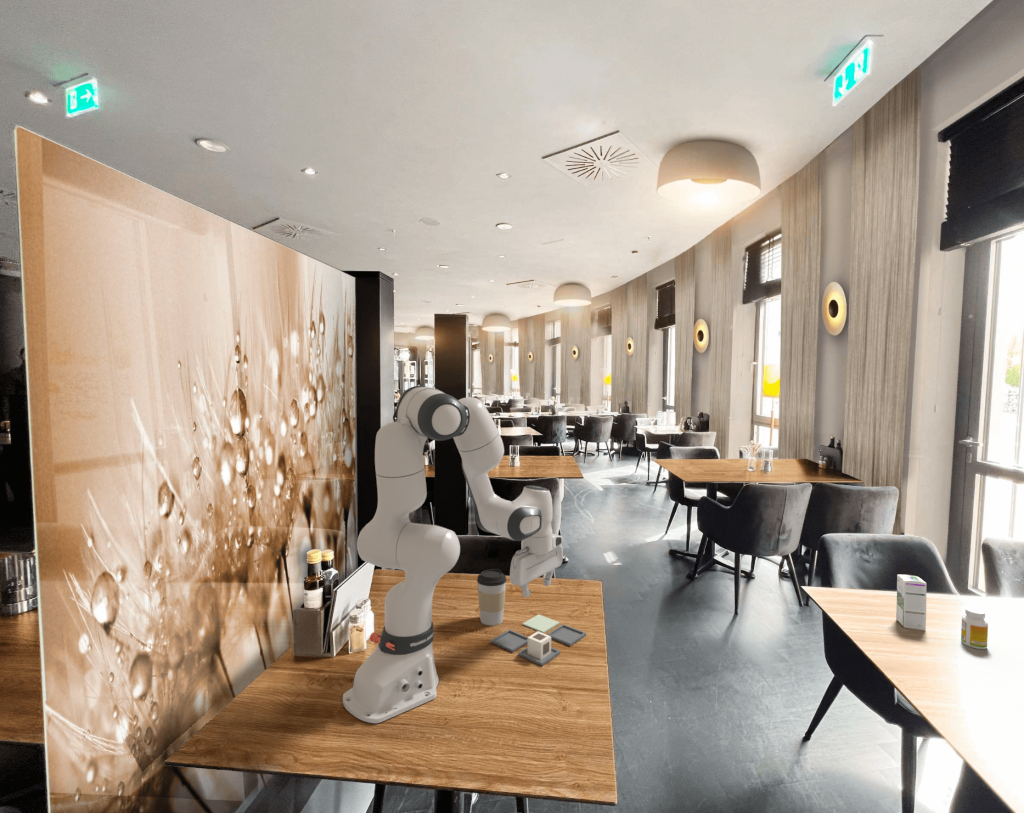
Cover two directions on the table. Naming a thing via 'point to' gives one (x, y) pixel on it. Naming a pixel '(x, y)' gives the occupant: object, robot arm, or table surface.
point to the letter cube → (539, 645)
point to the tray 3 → (567, 635)
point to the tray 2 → (542, 662)
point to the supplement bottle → (974, 629)
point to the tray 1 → (510, 640)
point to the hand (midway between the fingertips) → (537, 590)
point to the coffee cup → (491, 596)
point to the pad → (541, 623)
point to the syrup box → (911, 602)
